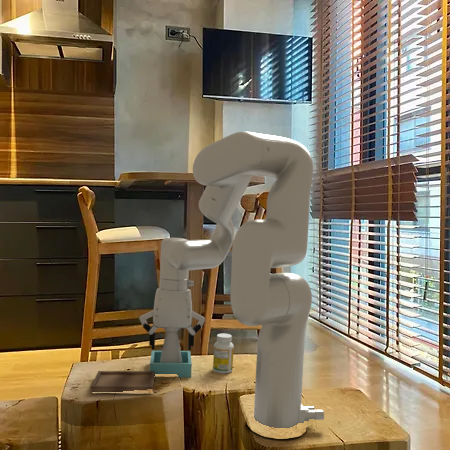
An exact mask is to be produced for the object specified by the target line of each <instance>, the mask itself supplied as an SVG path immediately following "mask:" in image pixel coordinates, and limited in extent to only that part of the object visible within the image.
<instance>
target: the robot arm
mask: <svg viewBox="0 0 450 450" xmlns="http://www.w3.org/2000/svg"><path fill="white" fill-rule="evenodd" d="M192 164H193V165H192V174H193V178H194V179H195V181H196V182H197V183H198V184H200V185H203V186H205V188H204V191H203V193H202V195H201V196H200V199H199V201H198V209H199V210H200V212H201V214H202V215H203V216H205V217H206V218H207V220H208V219H209V220H210V221H212V222H213V223H215V224H216V225H215V228H214V230H213V233H212V235H211V236H210V238H209V239H186V238H182V237H166V238H164V239H162V240H161V245H160V266H159V267H160V268H159V287H158V288H156V291H155V296H154V302H153V303H154V304H153V309H152V310H150V311H148V312H146V313H144V314H142V315H140V316H139V321H140V323H141V325H142V328H143V329H144V330H145V331H146V332H147V333H148V334H149V340H148V345H149V346H151V351H155V347H156V346H155V345H156V331H157V329H164V328H169V327H175V328H180V329H186V330H187V331H188V336H187V337H188V338H187V342H188V343H187V351H192V347H194V345H195V335H196V334H197V332H199V331H200V330H201V329H202V327H203V325H204V323H205V322H206V318H205V317H204V316H203V315H201V314H199V313H197V312H196V311H194V310H193V301H192V290H191V289H189V288H190V287H195V286H194V285H195V284H194V283H195V282H194V280H191V279H189V277H190V276H189V275H190V274H189V273H190V271H195V270H196V271H197V270H206V269H215V268H217V267H219V266H220V265H221V264H222V263H223V262H224V260H225V259H226V257H227V256H228V254H229V252H230V251H231V266H230V268H231V271H230V291H229V292H230V294H229V295H230V306H231V311H232V313H233V315H234V317H235V318H236V320H237V322H239V323H240V324H242V325H244V326H248V327H258V326H261V327H260V328H259V329H260V330H259V333H258V338H257V344H256V345H257V347H256V348H257V349H256V362H255V363H256V364H255V387H254V402H253V403H254V406H253V407H254V408H253V410H254V418H255V420H256V421H258V422H259V423H261V424H263V425H266V426H269V427H274V428H290V427H293V426H295V425H297V424H298V423H304V421H307V422H309V421H310V420H315V421H316V420H317V421H318V420H319V421H321V420H324V419H325V412H324V410H323V409H315V406H314V405H307V406H306V405H305V406H304V404H303V403H302V393H303V375H304V361H305V359H304V356H305V343H306V332H307V326H308V322H309V321H308V320H309V316H310V313H311V308H312V303H313V295H312V294H313V293H312V290H311V287H310V285H309V282H308V281H307V280H306V279H305V278H304V277H302V276H301V275H299V274H296V273H292V272H277V273H271V269H277V268H286V267H292V266H296V265H299V264H300V263H301V262H303V261H304V260H305V258H306V256H307V251H308V239H309V238H308V237H309V223H310V222H309V220H310V199H311V198H310V197H311V191H312V185H313V179H314V178H313V177H314V163H313V158H312V155H311V153H310V151H309V150H308V149H307V148H306V147H305V145H303V144H302V143H300V142H298V141H296V140H293V139H291V138H289V137H288V138H287V137H284V136H277V135H272V134H264V133H257V132H254V131H253V132H252V131H238V132H234V133H232V134H230V135H227V136H224V137H223V138H221V139H219V140H216V141H214V142H212V143H210V144H208V145H206V146H205V147H203V148H202V149H201V150H200V151H199V152H198V153H197V155H196V156H195V159H194V160H193V163H192ZM253 176H256V177H257V176H258V177H270V178H271V177H272V178H275V179H276V180H275V181H274V183H272V186H271V187H270V189H269V192H268V195H267V198H266V215H265V219H264V218H263V219H260V218H259V219H252V220H248V221H246V222H244V223H243V224H242V225H241V226H240V227H239V228H238V230H237V231H236V232H235V228H234V223H233V220H232V217H233V215H234V213H235V211H236V209H237V207H238V205H239V203H240V201H241V200H242V198H243V195H244V194H245V192H246V190H247V188H248V186H249V184H250V182H251V181H252V179H253ZM231 248H232V250H231ZM150 318H152V319H153V320H152V325H150V324H149V323H148V322H147V320H148V319H150ZM193 318H194V319H195V320H197V321H198V322H197V324H196V325H194V326H192V321H193Z"/></svg>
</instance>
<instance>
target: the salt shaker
mask: <svg viewBox="0 0 450 450" xmlns="http://www.w3.org/2000/svg"><path fill="white" fill-rule="evenodd" d="M163 330H164V331H165V336H164V339H163V344H162V349H161V351H162V353H161V358H160V363H182V358H181V352H180V351H181V346H180V339H179V332H180V330H181V328H175V327H169V328H163Z"/></svg>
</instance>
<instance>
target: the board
mask: <svg viewBox="0 0 450 450" xmlns="http://www.w3.org/2000/svg"><path fill="white" fill-rule="evenodd" d="M154 376H155V371H150V370H148V371H147V370H144V371H143V370H98V371H97V373H96V375H95V377H94V380H93V382H92V384H91V387H90V388H91V389H90V391H91V392H123V391H134V390H147V389H153V390H154V387H153V384H155V377H154ZM91 392H90V393H91Z"/></svg>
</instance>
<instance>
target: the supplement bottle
mask: <svg viewBox="0 0 450 450" xmlns="http://www.w3.org/2000/svg"><path fill="white" fill-rule="evenodd" d="M232 337H233V336H232V335H231V334H230V333H218V334H217V335H216V340H217V341H216V342H215V343H214V345H213V359H212V360H213V361H212V371H213V372H215V373H216V374H224V375H225V374H230V373H232V371H233V364H234V350H235V349H234V347H235V346H234V344H233V342H232V340H233V338H232Z"/></svg>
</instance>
